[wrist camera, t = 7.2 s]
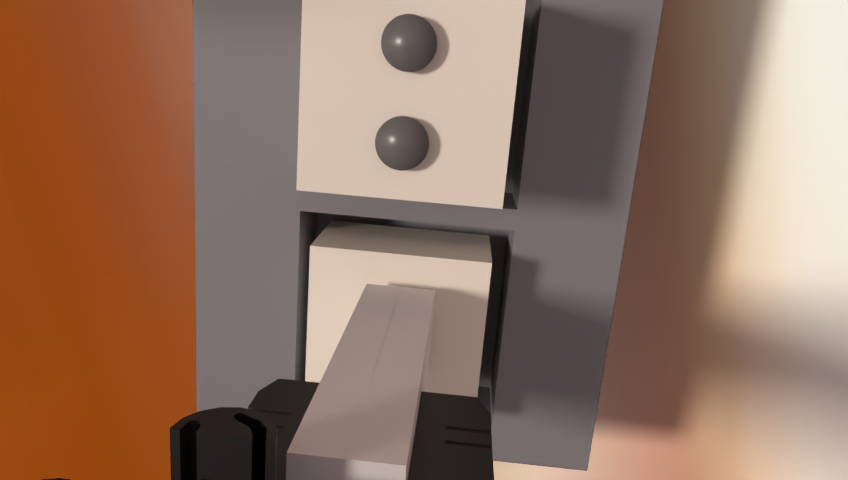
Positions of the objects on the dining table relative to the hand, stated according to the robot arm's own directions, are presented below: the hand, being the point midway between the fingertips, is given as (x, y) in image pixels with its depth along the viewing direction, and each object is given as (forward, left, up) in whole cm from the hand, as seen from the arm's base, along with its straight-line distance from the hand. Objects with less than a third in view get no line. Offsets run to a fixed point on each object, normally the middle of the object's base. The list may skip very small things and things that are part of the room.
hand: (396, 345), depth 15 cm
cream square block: (0, +5, -1) cm, 6 cm away
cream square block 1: (0, 0, -3) cm, 3 cm away
